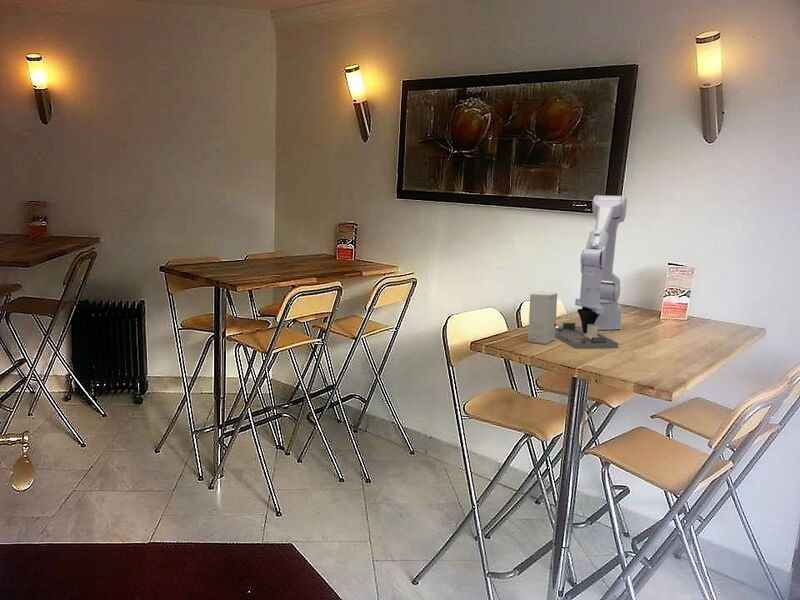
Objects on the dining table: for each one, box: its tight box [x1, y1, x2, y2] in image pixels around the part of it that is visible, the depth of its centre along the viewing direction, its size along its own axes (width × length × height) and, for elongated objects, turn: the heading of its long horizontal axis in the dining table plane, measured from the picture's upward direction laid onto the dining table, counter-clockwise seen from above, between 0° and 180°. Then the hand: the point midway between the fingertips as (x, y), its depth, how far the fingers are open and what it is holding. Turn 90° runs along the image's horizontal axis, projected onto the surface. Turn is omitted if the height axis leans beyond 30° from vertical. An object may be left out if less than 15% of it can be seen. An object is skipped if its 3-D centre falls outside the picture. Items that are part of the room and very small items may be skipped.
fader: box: [584, 324, 599, 340], centre depth 178 cm, size 3×4×4 cm, turn 10°
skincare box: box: [527, 291, 558, 345], centre depth 179 cm, size 8×6×15 cm
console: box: [555, 322, 619, 349], centre depth 184 cm, size 13×22×3 cm, turn 10°
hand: (587, 332), depth 181 cm, fingers closed
